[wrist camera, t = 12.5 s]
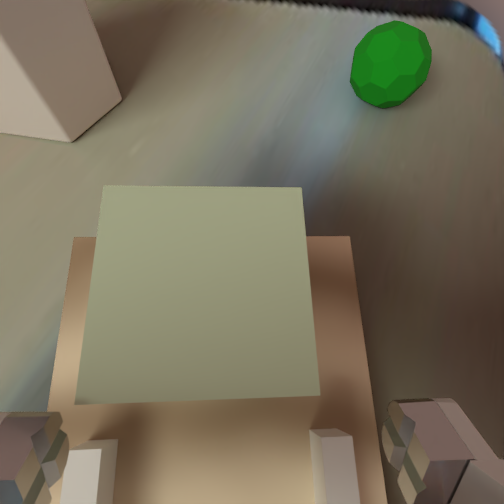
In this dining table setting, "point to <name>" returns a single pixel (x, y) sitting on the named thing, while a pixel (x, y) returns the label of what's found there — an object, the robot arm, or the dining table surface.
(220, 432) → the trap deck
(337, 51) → the dining table surface
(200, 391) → the block
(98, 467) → the channel rails
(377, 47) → the polyhedron
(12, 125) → the jar
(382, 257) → the dining table surface
